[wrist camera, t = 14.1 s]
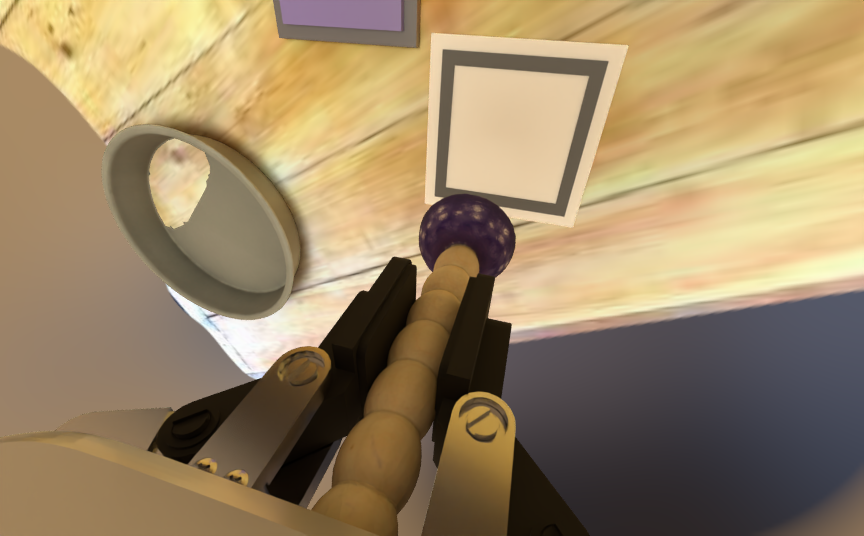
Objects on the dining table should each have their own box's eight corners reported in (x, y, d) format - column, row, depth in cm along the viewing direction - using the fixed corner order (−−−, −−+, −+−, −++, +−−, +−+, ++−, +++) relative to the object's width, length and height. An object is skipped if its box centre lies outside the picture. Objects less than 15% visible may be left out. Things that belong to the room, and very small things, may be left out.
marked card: (628, 45, 24) (629, 45, 24) (572, 226, 32) (573, 228, 32) (432, 32, 27) (430, 32, 27) (425, 202, 35) (424, 204, 35)
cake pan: (281, 116, 35) (249, 125, 31) (332, 311, 48) (314, 333, 44) (99, 116, 41) (55, 124, 37) (188, 288, 54) (162, 307, 51)
